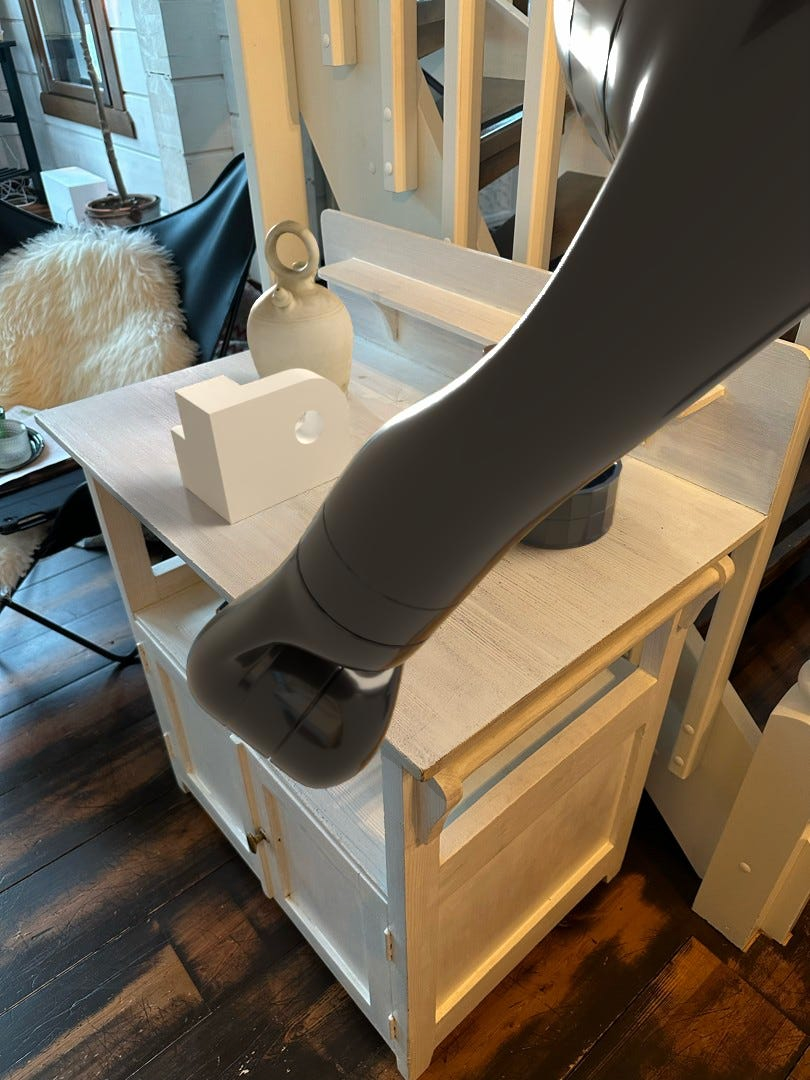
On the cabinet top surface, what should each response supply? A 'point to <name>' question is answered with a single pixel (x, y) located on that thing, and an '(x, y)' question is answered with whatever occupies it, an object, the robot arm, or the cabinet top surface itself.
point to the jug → (300, 318)
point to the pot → (580, 514)
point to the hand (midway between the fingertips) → (509, 407)
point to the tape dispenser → (260, 439)
